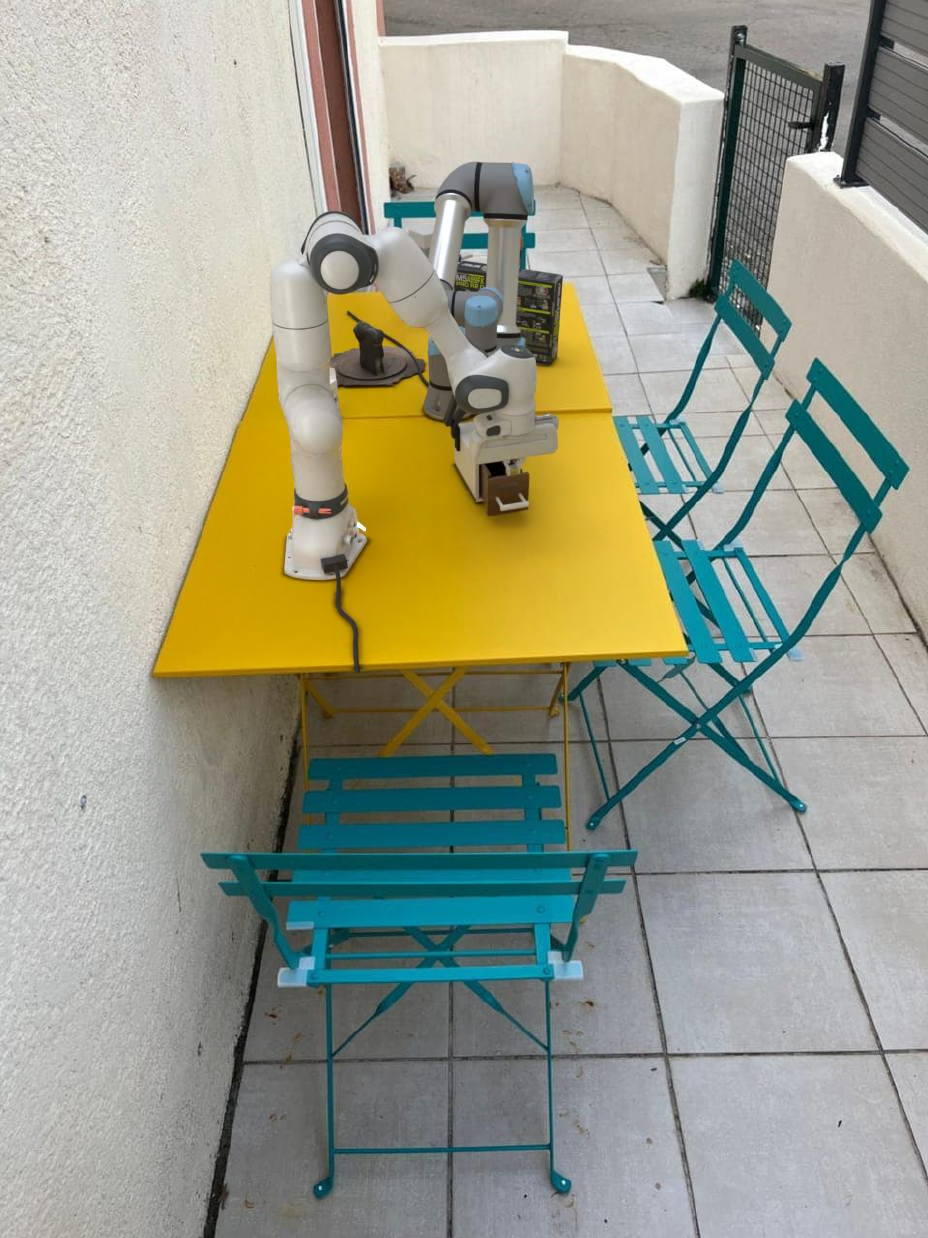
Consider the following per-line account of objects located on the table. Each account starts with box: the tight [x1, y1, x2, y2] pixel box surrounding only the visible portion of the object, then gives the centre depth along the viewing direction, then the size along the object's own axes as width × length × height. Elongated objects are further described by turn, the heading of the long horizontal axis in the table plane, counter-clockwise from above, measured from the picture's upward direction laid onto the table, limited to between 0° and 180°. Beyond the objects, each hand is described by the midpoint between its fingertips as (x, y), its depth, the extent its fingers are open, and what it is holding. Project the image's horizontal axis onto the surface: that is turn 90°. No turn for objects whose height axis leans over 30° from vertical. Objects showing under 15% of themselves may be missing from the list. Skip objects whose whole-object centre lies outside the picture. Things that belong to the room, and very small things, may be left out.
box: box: [454, 260, 564, 367], centre depth 277 cm, size 34×7×27 cm, turn 68°
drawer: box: [479, 459, 530, 517], centre depth 214 cm, size 24×10×10 cm, turn 16°
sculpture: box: [330, 320, 426, 387], centre depth 273 cm, size 33×35×16 cm
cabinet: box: [453, 421, 518, 503], centre depth 223 cm, size 20×11×12 cm, turn 16°
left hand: (512, 473), depth 203 cm, fingers closed
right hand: (480, 445), depth 226 cm, fingers closed on cabinet, 11 cm apart
